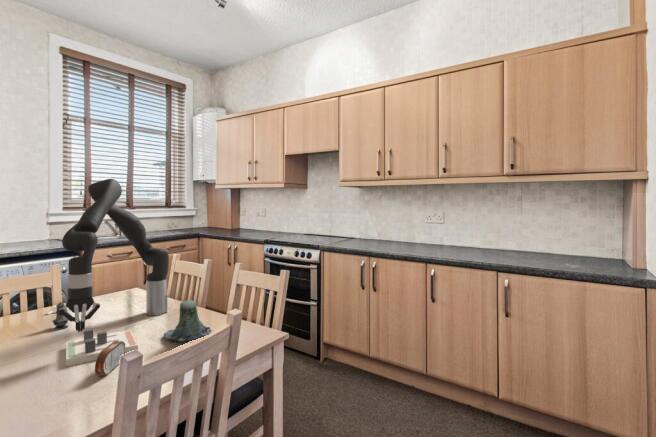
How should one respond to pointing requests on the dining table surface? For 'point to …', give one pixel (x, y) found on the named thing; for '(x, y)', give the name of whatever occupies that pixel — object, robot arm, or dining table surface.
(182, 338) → the green bell-shaped piece
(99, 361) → the tin
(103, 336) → the block
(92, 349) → the block
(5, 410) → the dining table surface
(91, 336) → the block
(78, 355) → the board
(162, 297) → the robot arm
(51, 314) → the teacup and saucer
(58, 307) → the grey chess pawn
